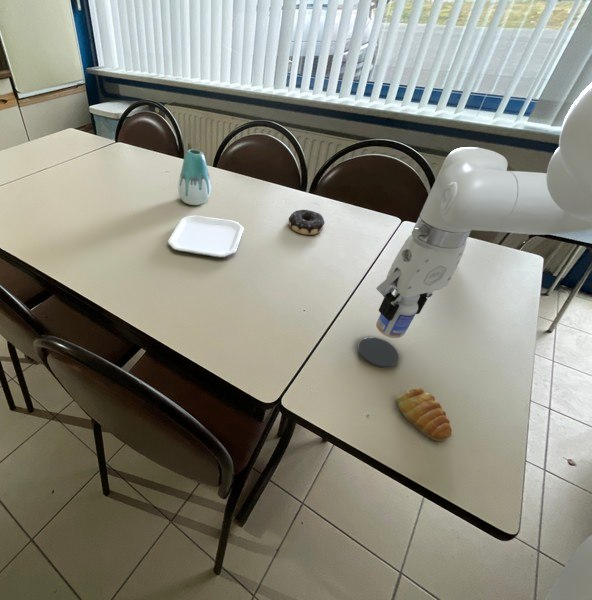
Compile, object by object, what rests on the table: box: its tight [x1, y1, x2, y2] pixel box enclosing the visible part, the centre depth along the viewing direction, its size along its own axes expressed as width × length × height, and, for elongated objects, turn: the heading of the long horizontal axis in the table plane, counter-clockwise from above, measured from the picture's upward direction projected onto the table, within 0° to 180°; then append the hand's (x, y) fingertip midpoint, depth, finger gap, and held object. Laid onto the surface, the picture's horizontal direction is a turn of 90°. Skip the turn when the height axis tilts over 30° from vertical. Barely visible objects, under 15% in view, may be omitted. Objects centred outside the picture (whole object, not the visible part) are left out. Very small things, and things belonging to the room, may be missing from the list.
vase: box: [177, 148, 212, 206], centre depth 126 cm, size 12×12×18 cm
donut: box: [288, 209, 325, 236], centre depth 117 cm, size 11×12×4 cm
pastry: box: [396, 387, 453, 442], centre depth 66 cm, size 9×7×4 cm
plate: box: [167, 214, 245, 259], centre depth 112 cm, size 21×21×2 cm
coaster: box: [357, 337, 399, 369], centre depth 78 cm, size 8×8×1 cm
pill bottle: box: [375, 290, 420, 339], centre depth 71 cm, size 5×5×10 cm
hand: (398, 311), depth 71 cm, fingers closed on pill bottle, 5 cm apart
